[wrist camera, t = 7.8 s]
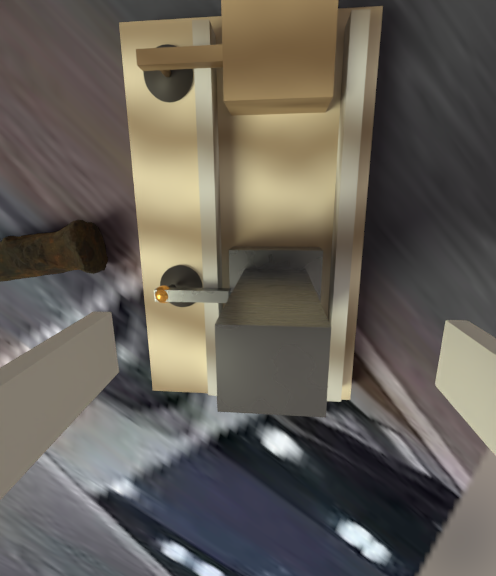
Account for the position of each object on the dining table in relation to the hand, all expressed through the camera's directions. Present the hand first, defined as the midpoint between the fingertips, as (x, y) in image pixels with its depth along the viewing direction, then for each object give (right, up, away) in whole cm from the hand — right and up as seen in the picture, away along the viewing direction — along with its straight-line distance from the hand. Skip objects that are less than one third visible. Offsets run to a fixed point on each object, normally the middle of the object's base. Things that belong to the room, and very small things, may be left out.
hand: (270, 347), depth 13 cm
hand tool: (-21, +4, +15) cm, 26 cm away
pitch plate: (-1, +7, +12) cm, 14 cm away
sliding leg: (-1, +2, +10) cm, 11 cm away
